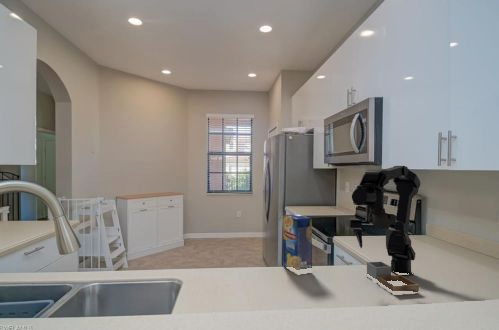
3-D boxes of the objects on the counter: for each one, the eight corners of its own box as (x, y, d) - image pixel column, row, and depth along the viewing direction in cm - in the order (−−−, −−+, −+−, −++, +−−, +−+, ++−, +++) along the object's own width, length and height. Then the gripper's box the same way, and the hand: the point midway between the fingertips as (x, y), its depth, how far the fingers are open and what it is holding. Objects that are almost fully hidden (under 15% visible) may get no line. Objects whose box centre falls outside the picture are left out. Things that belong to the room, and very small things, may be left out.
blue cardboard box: (297, 264, 125) (296, 214, 126) (312, 273, 115) (311, 218, 116) (283, 267, 123) (283, 215, 123) (297, 275, 113) (297, 219, 113)
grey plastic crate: (381, 277, 111) (381, 261, 111) (391, 283, 105) (391, 266, 105) (366, 278, 110) (366, 262, 110) (376, 284, 104) (376, 267, 104)
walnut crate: (400, 282, 105) (400, 274, 105) (418, 293, 96) (418, 284, 96) (377, 284, 104) (377, 276, 104) (393, 295, 95) (393, 286, 95)
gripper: (355, 205, 97) (354, 252, 96) (412, 208, 95) (412, 255, 95) (346, 202, 108) (345, 245, 107) (397, 204, 106) (397, 247, 106)
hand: (374, 248), depth 103 cm, fingers open, 9 cm apart
